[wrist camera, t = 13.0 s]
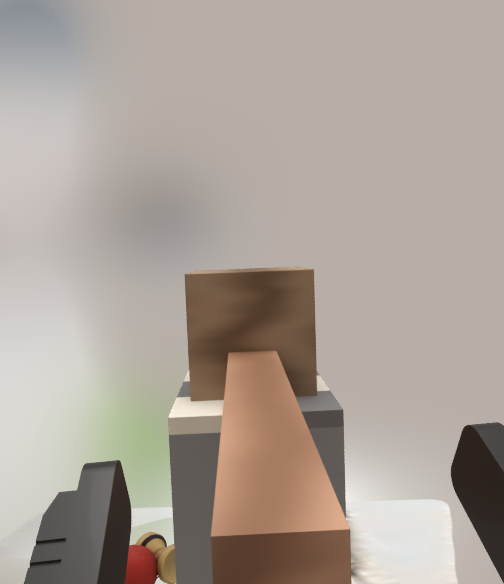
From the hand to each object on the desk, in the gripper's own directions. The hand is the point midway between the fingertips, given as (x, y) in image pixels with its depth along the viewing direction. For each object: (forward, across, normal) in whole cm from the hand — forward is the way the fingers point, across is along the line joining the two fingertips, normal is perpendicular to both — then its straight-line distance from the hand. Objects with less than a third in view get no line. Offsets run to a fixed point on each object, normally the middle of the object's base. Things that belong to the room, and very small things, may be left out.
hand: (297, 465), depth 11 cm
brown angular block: (+10, 0, -10) cm, 14 cm away
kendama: (+29, -9, -57) cm, 64 cm away
